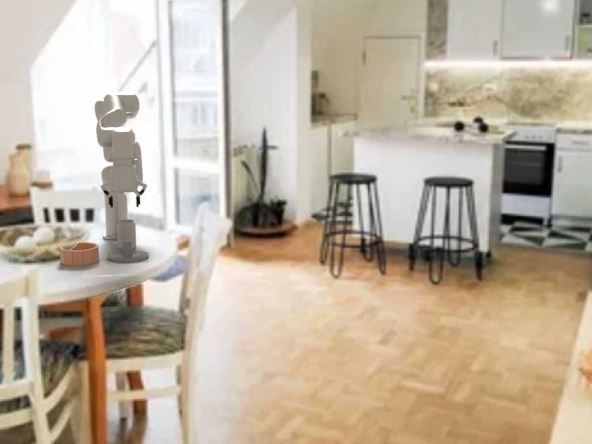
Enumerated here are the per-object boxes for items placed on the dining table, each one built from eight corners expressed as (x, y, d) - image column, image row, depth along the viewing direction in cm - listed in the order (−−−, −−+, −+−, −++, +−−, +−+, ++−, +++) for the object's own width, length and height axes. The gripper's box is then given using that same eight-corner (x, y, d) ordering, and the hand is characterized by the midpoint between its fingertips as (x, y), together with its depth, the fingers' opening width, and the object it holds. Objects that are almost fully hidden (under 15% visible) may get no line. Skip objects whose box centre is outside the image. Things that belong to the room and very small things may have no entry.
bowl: (63, 257, 286) (62, 242, 285) (100, 256, 289) (99, 241, 288) (58, 267, 273) (57, 251, 272) (97, 265, 275) (96, 250, 274)
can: (131, 251, 297) (130, 222, 294) (114, 250, 298) (113, 221, 296) (139, 247, 304) (138, 219, 302) (122, 246, 306) (121, 218, 303)
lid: (108, 253, 292) (107, 236, 291) (149, 251, 295) (148, 235, 294) (105, 263, 277) (104, 245, 275) (148, 262, 280) (148, 244, 278)
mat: (108, 254, 292) (108, 253, 292) (149, 252, 295) (149, 251, 295) (105, 264, 277) (105, 263, 277) (148, 263, 280) (148, 262, 280)
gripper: (146, 161, 282) (147, 204, 286) (100, 161, 280) (102, 205, 283) (146, 163, 275) (147, 208, 279) (98, 164, 272) (100, 209, 276)
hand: (124, 206), depth 281 cm, fingers open, 9 cm apart
